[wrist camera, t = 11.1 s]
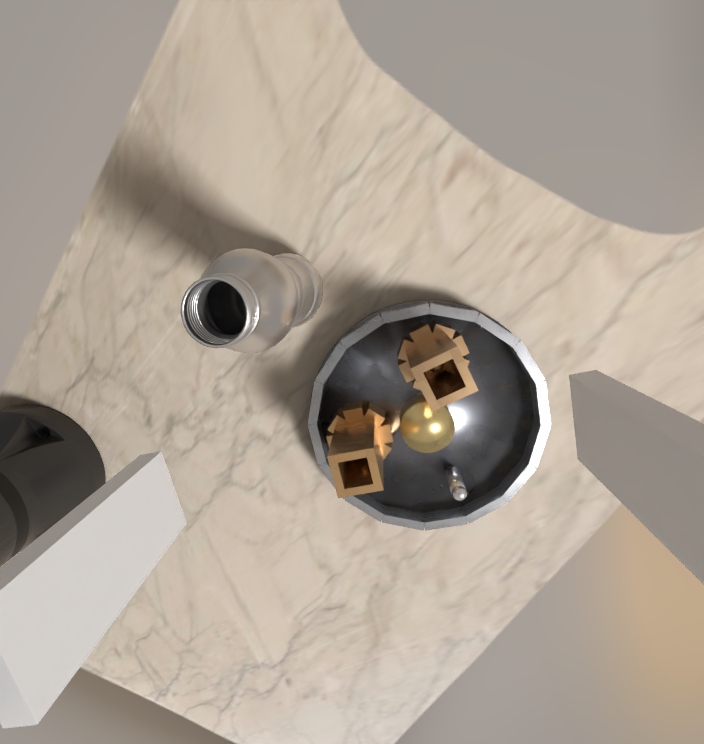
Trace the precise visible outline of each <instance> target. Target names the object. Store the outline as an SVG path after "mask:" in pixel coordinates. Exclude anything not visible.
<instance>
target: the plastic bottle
mask: <svg viewBox="0 0 704 744" xmlns="http://www.w3.org/2000/svg"><path fill="white" fill-rule="evenodd" d="M322 296H323V285H322V281H321V277H320V275H319V273H318V271H317V270H316V268H315V267H314V265H313V264H312V263H311V262H309V261H308V260H307V259H305V258H304V257H302V256H299V255H297V254H292V253H282V254H278V255H274V256H272V255H270V254H267V253H265V252H262V251H259V250H256V249H249V248H242V249H235V250H232V251H228V252H226V253H224V254H222V255H221V256H219V257H217V258H216V259H215V260H214V261H213V262H212V263H211V264H210V265H209V266H208V267H207V269H206V270H205V271H204V273H203V274H202V276H201V278H200V279H199V280H197V281H196V282H194V283H193V284H192V285H191V286H190V287H189V288H188V289H187V291H186V292H185V294H184V297H183V299H182V303H181V317H182V321H183V324H184V326H185V328H186V330H187V332H188V333H189V334H190V336H191V337H192V338H193V339H195V340H196V341H197V342H199V343H200V344H202V345H204V346H207V347H211V348H224V347H225V348H228V349H230V350H233V351H237V352H243V353H257V352H261V351H264V350H267V349H269V348H271V347H273V346H275V345H276V344H277V343H279V342H280V341H281V340H282V339H283V338H284V337H285V335H286V334H287V333H288V332H289V331H290V329H291V328H292V327H297V326H300V325H302V324H304V323H306V322H307V321H309V320H310V319H311V318H312V317H313V316H314V315H315V314H316V312H317V310H318V309H319V307H320V304H321V301H322Z"/></svg>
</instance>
